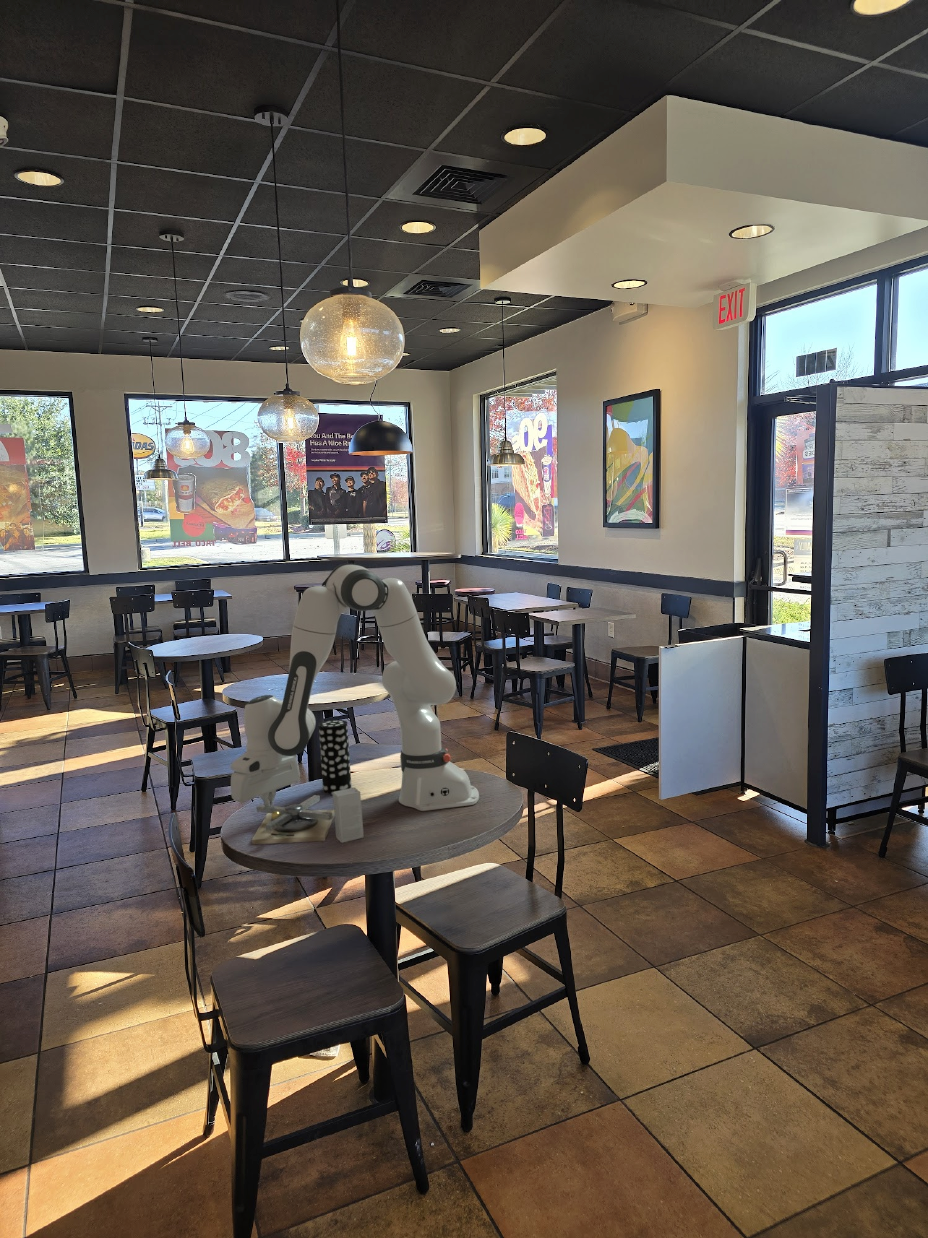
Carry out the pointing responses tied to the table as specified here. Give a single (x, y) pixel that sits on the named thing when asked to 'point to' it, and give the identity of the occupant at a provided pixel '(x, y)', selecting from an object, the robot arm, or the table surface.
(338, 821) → the skincare box
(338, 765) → the spotted tube
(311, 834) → the beige base plate
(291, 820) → the capstan
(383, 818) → the table surface
